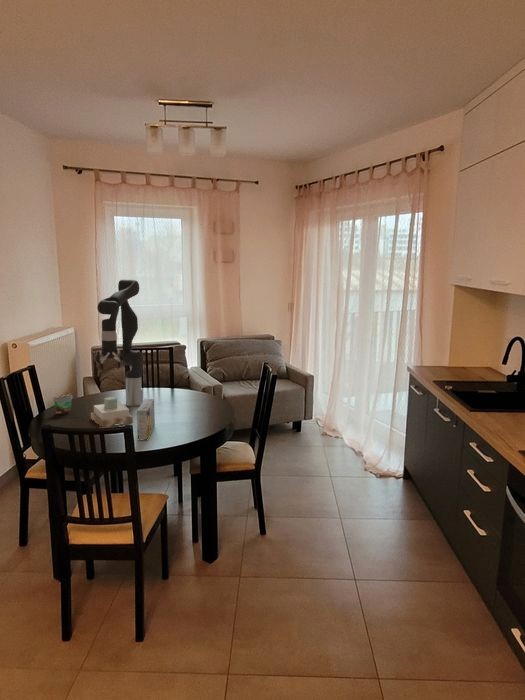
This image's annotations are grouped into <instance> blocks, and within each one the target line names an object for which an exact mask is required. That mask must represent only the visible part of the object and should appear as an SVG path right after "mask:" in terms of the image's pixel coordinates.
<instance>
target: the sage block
mask: <svg viewBox="0 0 525 700" xmlns="http://www.w3.org/2000/svg"><path fill="white" fill-rule="evenodd" d="M117 402H118V398H116V397H114V396H109V397H104V401H103V404H104V407H105V408H107V409H113V408H117Z"/></svg>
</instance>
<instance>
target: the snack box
mask: <svg viewBox="0 0 525 700" xmlns="http://www.w3.org/2000/svg"><path fill="white" fill-rule="evenodd" d="M155 419H156V418H155V398H143V402H142V404H141V405H139V407H138V408H137V410H136V421H137V425H136V427H137V440H138V439H148V438H149V439H150V437H151V435H150V434H152V433H153V431H152V430H154V429H155V427H154V426H156V423H155V422H156V421H155ZM153 428H154V429H153ZM151 432H152V433H151ZM149 436H150V437H149ZM149 439H148V440H149Z"/></svg>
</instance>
